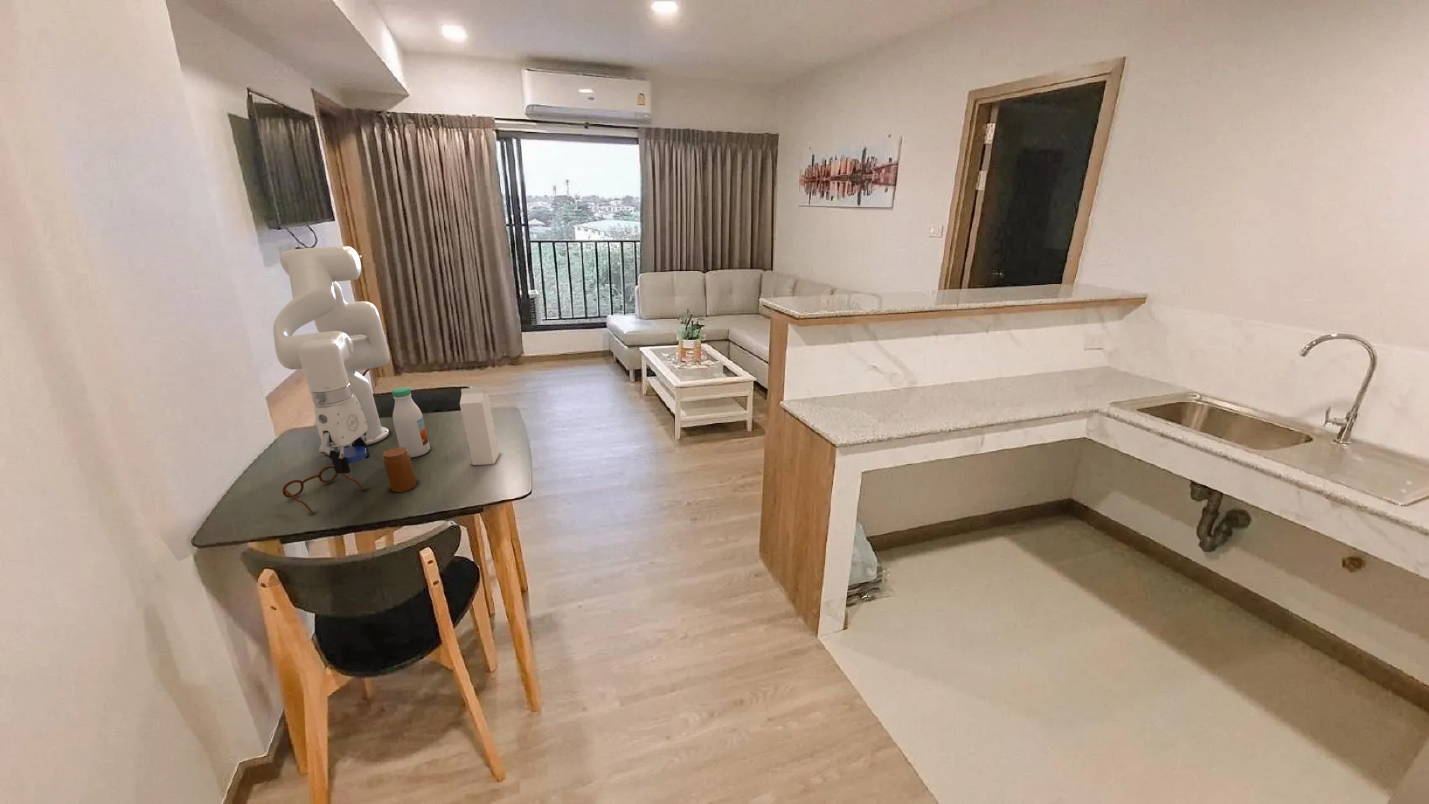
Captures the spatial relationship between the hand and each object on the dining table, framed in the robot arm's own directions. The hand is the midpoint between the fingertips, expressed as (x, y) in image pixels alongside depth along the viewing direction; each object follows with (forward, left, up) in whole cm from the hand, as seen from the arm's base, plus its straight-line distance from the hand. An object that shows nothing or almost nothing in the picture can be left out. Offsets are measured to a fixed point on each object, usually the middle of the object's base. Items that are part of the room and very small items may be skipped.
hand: (353, 464), depth 131 cm
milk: (+1, +32, -13) cm, 35 cm away
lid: (0, 0, +3) cm, 3 cm away
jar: (-4, +11, -13) cm, 17 cm away
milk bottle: (-21, +23, -13) cm, 34 cm away
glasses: (-16, -3, -13) cm, 21 cm away
